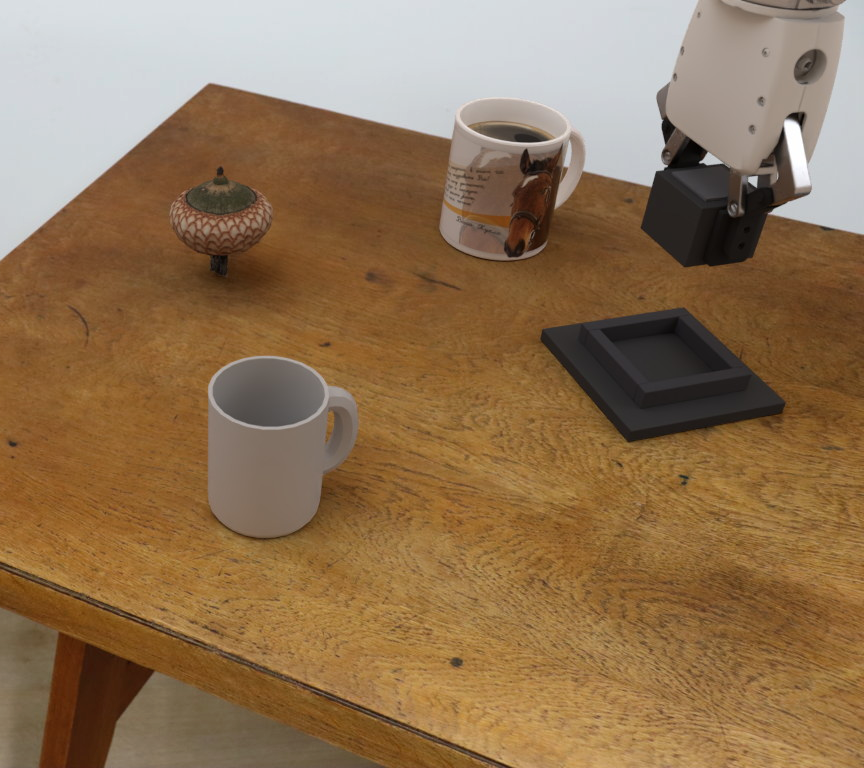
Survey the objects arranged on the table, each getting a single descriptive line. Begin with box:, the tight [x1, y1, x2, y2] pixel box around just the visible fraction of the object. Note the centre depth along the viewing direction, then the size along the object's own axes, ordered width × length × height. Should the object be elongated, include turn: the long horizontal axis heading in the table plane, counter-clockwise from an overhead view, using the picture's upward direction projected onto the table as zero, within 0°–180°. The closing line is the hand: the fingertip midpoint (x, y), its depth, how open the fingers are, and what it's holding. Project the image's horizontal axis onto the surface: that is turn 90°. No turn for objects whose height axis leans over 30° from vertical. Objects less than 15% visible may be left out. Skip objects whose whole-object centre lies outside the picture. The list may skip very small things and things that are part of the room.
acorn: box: [168, 165, 274, 278], centre depth 90 cm, size 8×8×10 cm
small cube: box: [640, 162, 769, 268], centre depth 76 cm, size 6×6×5 cm
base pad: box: [539, 306, 787, 443], centre depth 83 cm, size 13×13×2 cm
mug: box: [438, 96, 587, 261], centre depth 97 cm, size 10×12×11 cm
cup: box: [207, 355, 360, 539], centre depth 69 cm, size 7×10×9 cm
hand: (697, 236), depth 77 cm, fingers closed on small cube, 5 cm apart
